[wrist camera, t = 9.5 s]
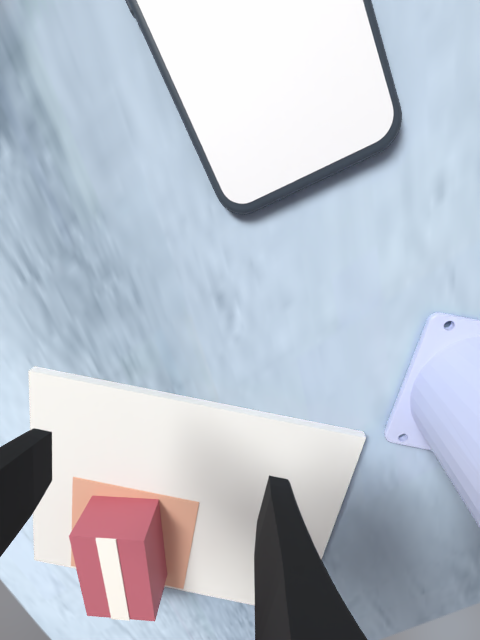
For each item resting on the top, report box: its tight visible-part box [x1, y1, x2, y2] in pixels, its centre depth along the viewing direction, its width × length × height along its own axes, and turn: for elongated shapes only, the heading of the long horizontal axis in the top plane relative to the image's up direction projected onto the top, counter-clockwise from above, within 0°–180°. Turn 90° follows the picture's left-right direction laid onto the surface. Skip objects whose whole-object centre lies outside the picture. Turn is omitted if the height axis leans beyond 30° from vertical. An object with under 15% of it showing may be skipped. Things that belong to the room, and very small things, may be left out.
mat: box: [29, 366, 366, 605], centre depth 24 cm, size 20×16×1 cm
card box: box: [69, 496, 167, 621], centre depth 24 cm, size 7×4×3 cm, turn 1°
